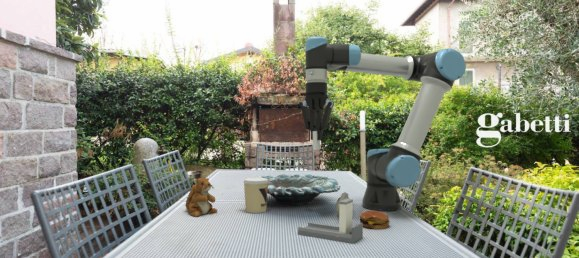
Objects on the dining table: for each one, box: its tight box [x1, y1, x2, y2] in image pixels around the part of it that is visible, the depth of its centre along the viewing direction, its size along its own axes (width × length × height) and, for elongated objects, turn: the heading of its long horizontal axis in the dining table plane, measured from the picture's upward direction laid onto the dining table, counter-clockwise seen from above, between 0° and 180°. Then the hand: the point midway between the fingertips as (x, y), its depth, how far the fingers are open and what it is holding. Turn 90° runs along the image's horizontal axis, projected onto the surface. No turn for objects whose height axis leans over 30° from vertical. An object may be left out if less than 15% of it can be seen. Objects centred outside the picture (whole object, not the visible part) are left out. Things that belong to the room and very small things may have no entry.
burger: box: [359, 210, 391, 230], centre depth 139 cm, size 10×9×5 cm
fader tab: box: [338, 198, 354, 234], centre depth 124 cm, size 2×5×10 cm, turn 149°
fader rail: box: [297, 222, 364, 244], centre depth 126 cm, size 18×7×4 cm, turn 59°
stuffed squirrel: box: [184, 177, 218, 218], centre depth 157 cm, size 10×14×13 cm
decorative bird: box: [335, 191, 350, 217], centre depth 152 cm, size 5×16×7 cm, turn 169°
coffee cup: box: [243, 177, 269, 214], centre depth 160 cm, size 9×9×12 cm
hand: (316, 149), depth 148 cm, fingers closed
